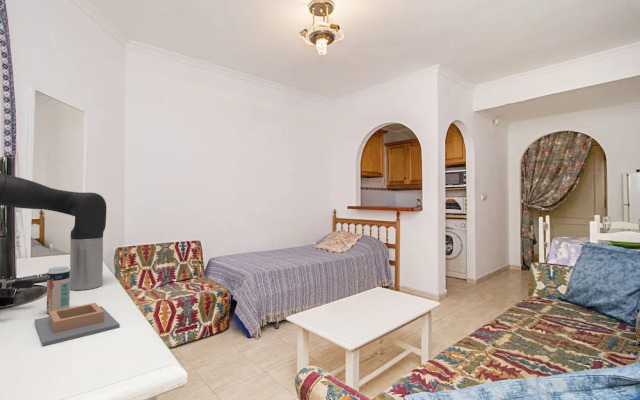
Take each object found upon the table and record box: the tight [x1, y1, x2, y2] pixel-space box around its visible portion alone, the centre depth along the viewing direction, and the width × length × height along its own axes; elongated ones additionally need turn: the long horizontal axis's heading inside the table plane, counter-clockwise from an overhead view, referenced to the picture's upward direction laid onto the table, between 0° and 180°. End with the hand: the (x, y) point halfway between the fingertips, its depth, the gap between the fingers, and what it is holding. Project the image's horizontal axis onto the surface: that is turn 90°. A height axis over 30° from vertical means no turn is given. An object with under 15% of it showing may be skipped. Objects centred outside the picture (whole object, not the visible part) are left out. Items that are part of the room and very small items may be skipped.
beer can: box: [46, 266, 71, 314], centre depth 86 cm, size 5×5×12 cm
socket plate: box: [34, 302, 120, 347], centre depth 77 cm, size 18×14×3 cm
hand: (23, 287), depth 84 cm, fingers open, 8 cm apart
